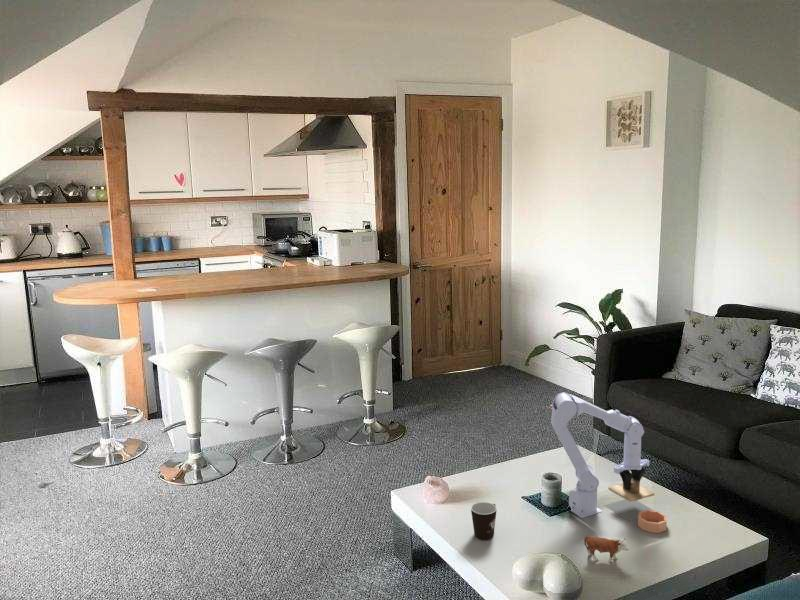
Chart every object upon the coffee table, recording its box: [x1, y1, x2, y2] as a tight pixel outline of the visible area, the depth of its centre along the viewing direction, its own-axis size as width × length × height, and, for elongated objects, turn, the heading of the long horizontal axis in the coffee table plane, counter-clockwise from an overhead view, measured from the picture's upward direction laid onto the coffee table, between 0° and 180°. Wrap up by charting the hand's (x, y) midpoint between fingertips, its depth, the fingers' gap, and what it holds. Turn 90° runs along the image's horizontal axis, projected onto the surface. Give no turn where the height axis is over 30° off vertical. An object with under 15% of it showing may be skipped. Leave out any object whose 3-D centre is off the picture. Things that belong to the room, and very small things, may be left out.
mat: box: [603, 498, 655, 522], centre depth 242 cm, size 13×13×1 cm
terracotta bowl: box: [637, 509, 668, 534], centre depth 229 cm, size 9×9×4 cm
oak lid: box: [607, 478, 655, 502], centre depth 240 cm, size 11×11×5 cm
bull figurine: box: [583, 535, 630, 564], centre depth 211 cm, size 4×13×8 cm, turn 66°
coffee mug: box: [470, 501, 498, 541], centre depth 228 cm, size 12×9×10 cm
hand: (631, 488), depth 240 cm, fingers closed on oak lid, 3 cm apart
